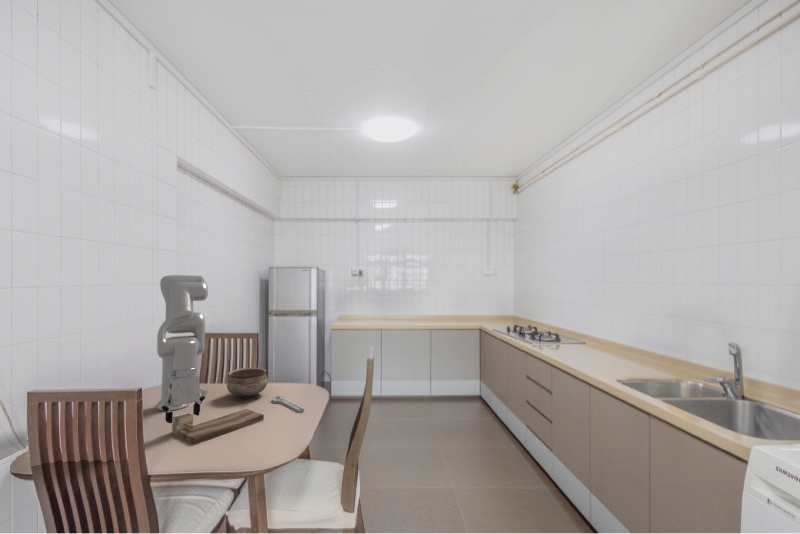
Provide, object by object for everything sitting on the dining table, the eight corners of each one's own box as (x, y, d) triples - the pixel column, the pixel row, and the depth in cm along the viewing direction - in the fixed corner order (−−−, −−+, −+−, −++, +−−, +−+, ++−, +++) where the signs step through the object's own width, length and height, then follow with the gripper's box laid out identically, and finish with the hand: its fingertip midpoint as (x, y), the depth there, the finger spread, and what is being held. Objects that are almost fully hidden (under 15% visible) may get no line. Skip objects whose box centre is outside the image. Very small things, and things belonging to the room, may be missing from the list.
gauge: (172, 432, 136) (172, 416, 136) (186, 428, 140) (186, 412, 140) (184, 438, 130) (185, 421, 131) (198, 433, 135) (199, 417, 135)
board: (177, 436, 132) (177, 430, 132) (246, 413, 156) (246, 408, 156) (194, 444, 126) (194, 438, 126) (263, 419, 149) (263, 414, 149)
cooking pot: (274, 399, 175) (274, 374, 175) (232, 407, 163) (233, 380, 164) (259, 387, 195) (260, 364, 195) (221, 393, 183) (222, 369, 184)
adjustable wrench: (305, 413, 159) (305, 409, 159) (291, 416, 154) (291, 412, 154) (281, 398, 177) (281, 394, 177) (269, 401, 173) (269, 397, 173)
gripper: (164, 378, 128) (162, 427, 127) (212, 369, 142) (211, 413, 141) (155, 376, 132) (153, 423, 131) (202, 367, 146) (201, 410, 145)
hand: (183, 418), depth 136 cm, fingers open, 9 cm apart
